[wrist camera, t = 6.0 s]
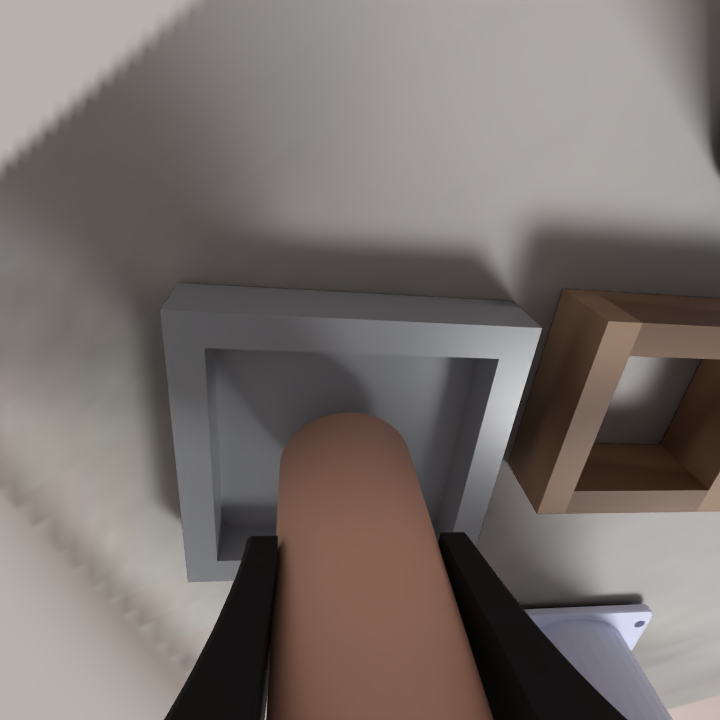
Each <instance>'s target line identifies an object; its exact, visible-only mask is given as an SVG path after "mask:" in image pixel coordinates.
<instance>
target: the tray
mask: <svg viewBox="0 0 720 720" xmlns="http://www.w3.org/2000/svg"><path fill="white" fill-rule="evenodd" d="M160 317H161V326H162V336H163V346H164V355H165V365H166V375H167V384H168V394H169V404H170V413H171V423H172V433H173V442H174V452H175V462H176V471H177V481H178V491H179V500H180V510H181V519H182V529H183V539H184V548H185V558H186V568H187V577H188V582H203V581H234V580H235V577H236V575H237V572H238V569H239V566H240V563H241V560H242V557H243V553H244V550H245V546H246V541H247V539H248V538H250V537H251V536H276V527H277V508H278V488H279V469H280V459H281V456H282V452H283V450H284V448H285V446H286V444H287V443H288V441H289V440H290V439H291V437H292V436H293V435H294V434H295V433H296V432H297V431H299V430H300V429H301V428H302V427H304V426H305V425H307V424H308V423H310V422H312V421H314V420H316V419H318V418H321V417H324V416H327V415H331V414H336V413H347V412H354V413H363V414H368V415H372V416H375V417H378V418H380V419H382V420H384V421H386V422H388V423H389V424H391V425H392V426H393V427H394V428H395V429H397V430H398V432H399V433H400V434H401V435H402V437H403V438H404V440H405V442H406V444H407V447H408V450H409V453H410V456H411V459H412V462H413V465H414V469H415V472H416V475H417V478H418V481H419V484H420V488H421V491H422V494H423V497H424V500H425V504H426V507H427V510H428V513H429V516H430V519H431V523H432V526H433V529H434V532H435V535H436V538H437V542H438V541H439V537H440V533H441V532H465V533H466V534H467V536H468V537H469V538H470V540H471V541H472V542H473V544H474V545H475V546H476V545H477V541H478V538H479V535H480V531H481V528H482V525H483V522H484V518H485V515H486V512H487V508H488V505H489V502H490V499H491V495H492V492H493V489H494V485H495V482H496V479H497V476H498V472H499V469H500V466H501V462H502V459H503V456H504V452H505V449H506V446H507V443H508V439H509V436H510V433H511V429H512V426H513V423H514V420H515V416H516V413H517V410H518V406H519V403H520V400H521V397H522V393H523V390H524V387H525V383H526V380H527V377H528V373H529V370H530V367H531V364H532V360H533V357H534V354H535V350H536V347H537V344H538V341H539V337H540V334H541V331H542V327H541V326H540V325H538V324H537V323H536V322H535V321H534V320H533V319H532V318H531V317H530V316H529V315H528V314H527V313H526V312H525V311H523V310H522V309H521V308H520V307H519V306H518V305H517V304H516V303H515V302H514V301H498V300H480V299H462V298H444V297H426V296H408V295H390V294H372V293H354V292H336V291H317V290H299V289H281V288H263V287H245V286H227V285H209V284H191V283H177V285H176V286H175V288H174V289H173V291H172V292H171V294H170V295H169V297H168V299H167V300H166V302H165V303H164V305H163V306H162V308H161V309H160Z"/></svg>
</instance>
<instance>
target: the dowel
mask: <svg viewBox="0 0 720 720" xmlns="http://www.w3.org/2000/svg"><path fill="white" fill-rule="evenodd" d="M276 536H278V552H277V573H276V590H275V598H274V607H273V615H272V626H271V642H270V661H269V680H268V699H267V718H266V720H493V716H492V713H491V710H490V707H489V704H488V700H487V697H486V694H485V691H484V688H483V685H482V681H481V678H480V675H479V672H478V669H477V666H476V662H475V659H474V656H473V653H472V650H471V646H470V643H469V640H468V637H467V634H466V631H465V627H464V624H463V621H462V618H461V615H460V612H459V608H458V605H457V602H456V599H455V596H454V592H453V589H452V586H451V583H450V580H449V577H448V573H447V570H446V567H445V564H444V561H443V558H442V554H441V551H440V548H439V545H438V542H437V538H436V535H435V532H434V529H433V526H432V523H431V519H430V516H429V513H428V510H427V507H426V504H425V500H424V497H423V494H422V491H421V488H420V484H419V481H418V478H417V475H416V472H415V469H414V465H413V462H412V459H411V456H410V453H409V450H408V447H407V444H406V442H405V440H404V438H403V437H402V435H401V434H400V433H399V432H398V430H397V429H395V428H394V427H393V426H392V425H391V424H389V423H388V422H386V421H384V420H382V419H380V418H378V417H375V416H372V415H368V414H363V413H354V412H347V413H336V414H331V415H327V416H324V417H321V418H318V419H316V420H314V421H312V422H310V423H308V424H307V425H305V426H304V427H302V428H301V429H300V430H299V431H297V432H296V433H295V434H294V435H293V436H292V437H291V439H290V440H289V441H288V443H287V444H286V446H285V448H284V450H283V452H282V456H281V459H280V469H279V488H278V508H277V527H276Z"/></svg>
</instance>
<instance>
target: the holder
mask: <svg viewBox="0 0 720 720" xmlns="http://www.w3.org/2000/svg"><path fill="white" fill-rule="evenodd" d="M629 356H644V357H670V358H695V359H702V361H701V363H700V365H699V367H698V369H697V371H696V373H695V375H694V377H693V379H692V381H691V383H690V385H689V387H688V390H687V392H686V394H685V396H684V398H683V400H682V402H681V404H680V406H679V408H678V410H677V412H676V414H675V416H674V418H673V420H672V422H671V424H670V426H669V428H668V430H667V432H666V434H665V436H664V438H663V440H662V442H661V444H593V443H594V441H595V438H596V436H597V434H598V431H599V429H600V426H601V424H602V421H603V419H604V416H605V414H606V412H607V409H608V407H609V404H610V402H611V399H612V397H613V394H614V392H615V390H616V387H617V385H618V382H619V380H620V377H621V375H622V372H623V370H624V368H625V365H626V363H627V360H628V358H629ZM508 465H509V466H510V468H511V470H512V471H513V473H514V475H515V477H516V478H517V480H518V482H519V484H520V485H521V487H522V489H523V491H524V492H525V494H526V496H527V497H528V499H529V501H530V503H531V504H532V506H533V508H534V510H535V511H536V513H537V514H568V513H641V512H713V511H720V298H707V297H691V296H674V295H658V294H641V293H624V292H608V291H591V290H575V289H563V291H562V294H561V297H560V300H559V303H558V307H557V310H556V313H555V316H554V319H553V323H552V326H551V329H550V332H549V335H548V339H547V342H546V345H545V348H544V351H543V355H542V358H541V361H540V364H539V367H538V371H537V374H536V377H535V380H534V383H533V387H532V390H531V393H530V396H529V399H528V402H527V406H526V409H525V412H524V415H523V418H522V422H521V425H520V428H519V431H518V434H517V438H516V441H515V444H514V447H513V450H512V454H511V457H510V460H509V463H508Z"/></svg>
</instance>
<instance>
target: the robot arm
mask: <svg viewBox="0 0 720 720" xmlns="http://www.w3.org/2000/svg"><path fill="white" fill-rule="evenodd" d="M438 545H439V548H440V551H441V554H442V558H443V561H444V564H445V567H446V570H447V573H448V577H449V580H450V583H451V586H452V589H453V592H454V596H455V599H456V602H457V605H458V608H459V612H460V615H461V618H462V621H463V624H464V627H465V631H466V634H467V637H468V640H469V643H470V646H471V650H472V653H473V656H474V659H475V662H476V666H477V669H478V672H479V675H480V678H481V681H482V685H483V688H484V691H485V694H486V697H487V700H488V704H489V707H490V710H491V713H492V716H493V720H672V718H671V716H670V714H669V713H668V711H667V709H666V708H665V706H664V704H663V703H662V701H661V699H660V698H659V696H658V694H657V693H656V691H655V689H654V688H653V686H652V684H651V683H650V681H649V680H648V678H647V676H646V675H645V673H644V671H643V670H642V668H641V666H640V665H639V663H638V661H637V660H636V658H635V656H634V655H633V653H632V651H631V650H632V649H633V647H634V646H635V644H636V642H637V641H638V639H639V637H640V636H641V634H642V632H643V631H644V629H645V627H646V626H647V624H648V623H649V621H650V619H651V618H652V615H653V613H652V611H651V610H650V608H649V607H648V606H647V605H645V604H632V605H610V606H588V607H565V608H543V609H523V608H522V607H521V605H520V604H519V603H518V602H517V600H516V599H515V598H514V597H513V595H512V594H511V593H510V592H509V590H508V589H507V588H506V587H505V585H504V584H503V583H502V581H501V580H500V579H499V577H498V576H497V575H496V573H495V572H494V571H493V570H492V568H491V567H490V566H489V564H488V563H487V561H486V560H485V559H484V557H483V556H482V555H481V553H480V552H479V551H478V549H477V548H476V546H475V545H474V544H473V542H472V541H471V540H470V538H469V537H468V536H467V534H466V533H465V532H441V533H440V537H439V541H438ZM277 552H278V536H251V537H250V538H248V539H247V541H246V546H245V550H244V553H243V557H242V560H241V563H240V566H239V569H238V572H237V575H236V577H235V580H234V582H233V585H232V587H231V590H230V592H229V595H228V597H227V599H226V602H225V604H224V606H223V608H222V611H221V613H220V615H219V617H218V620H217V622H216V624H215V626H214V628H213V631H212V633H211V635H210V637H209V639H208V640H207V642H206V644H205V646H204V648H203V650H202V652H201V654H200V656H199V658H198V660H197V662H196V664H195V666H194V668H193V670H192V672H191V674H190V675H189V677H188V679H187V681H186V683H185V685H184V686H183V688H182V690H181V692H180V693H179V695H178V697H177V699H176V700H175V702H174V704H173V705H172V707H171V709H170V711H169V712H168V714H167V716H166V718H165V719H164V720H264V718H265V710H266V702H267V694H268V680H269V661H270V642H271V626H272V615H273V607H274V598H275V590H276V573H277Z"/></svg>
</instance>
